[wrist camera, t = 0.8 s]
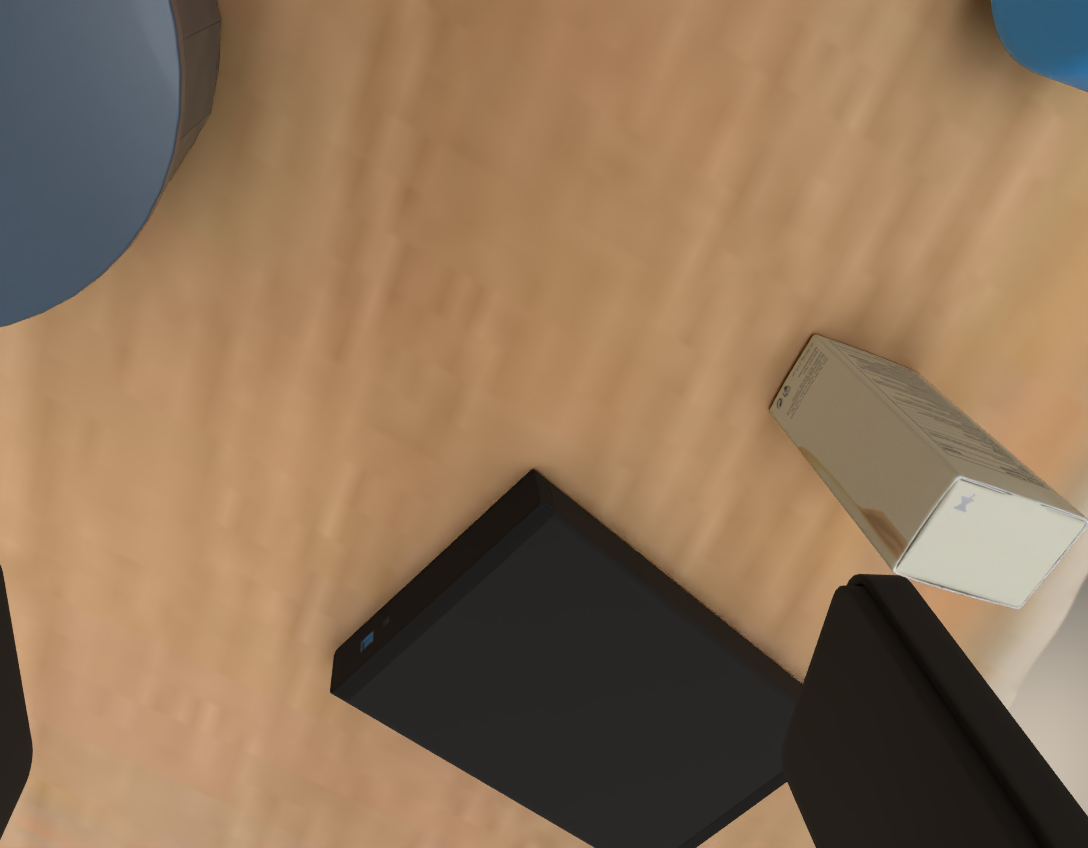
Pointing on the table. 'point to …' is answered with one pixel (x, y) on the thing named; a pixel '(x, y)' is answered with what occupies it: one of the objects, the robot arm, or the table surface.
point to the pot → (198, 67)
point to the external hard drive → (574, 679)
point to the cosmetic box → (923, 476)
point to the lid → (81, 139)
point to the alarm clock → (1046, 37)
